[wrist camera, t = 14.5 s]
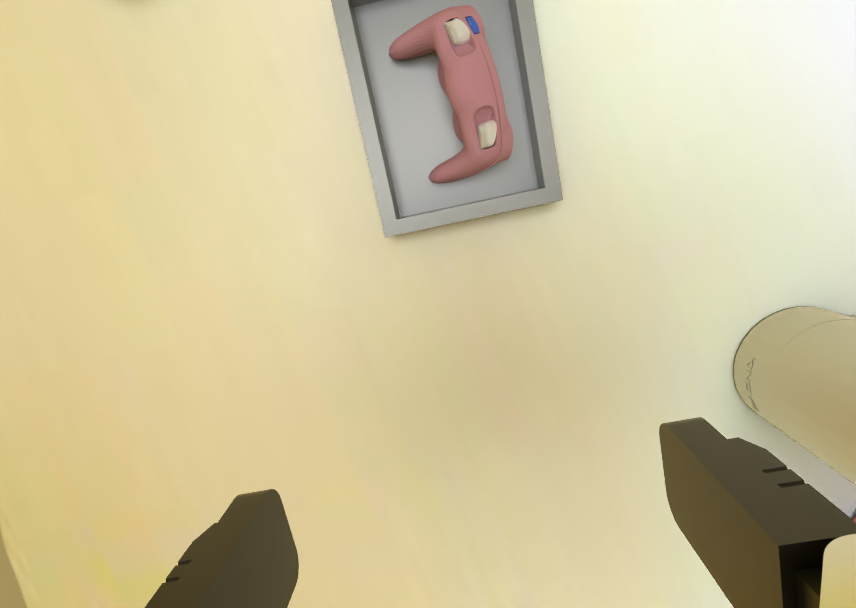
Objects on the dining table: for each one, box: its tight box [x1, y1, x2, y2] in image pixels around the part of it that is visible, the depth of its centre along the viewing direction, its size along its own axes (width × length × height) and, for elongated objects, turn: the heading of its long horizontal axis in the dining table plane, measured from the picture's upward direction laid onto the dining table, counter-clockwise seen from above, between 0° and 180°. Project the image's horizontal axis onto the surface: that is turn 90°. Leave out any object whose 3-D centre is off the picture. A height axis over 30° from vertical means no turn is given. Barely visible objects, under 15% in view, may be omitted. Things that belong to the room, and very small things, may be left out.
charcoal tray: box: [331, 0, 563, 237], centre depth 33 cm, size 12×16×4 cm
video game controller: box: [389, 5, 513, 183], centre depth 32 cm, size 10×5×7 cm, turn 18°
